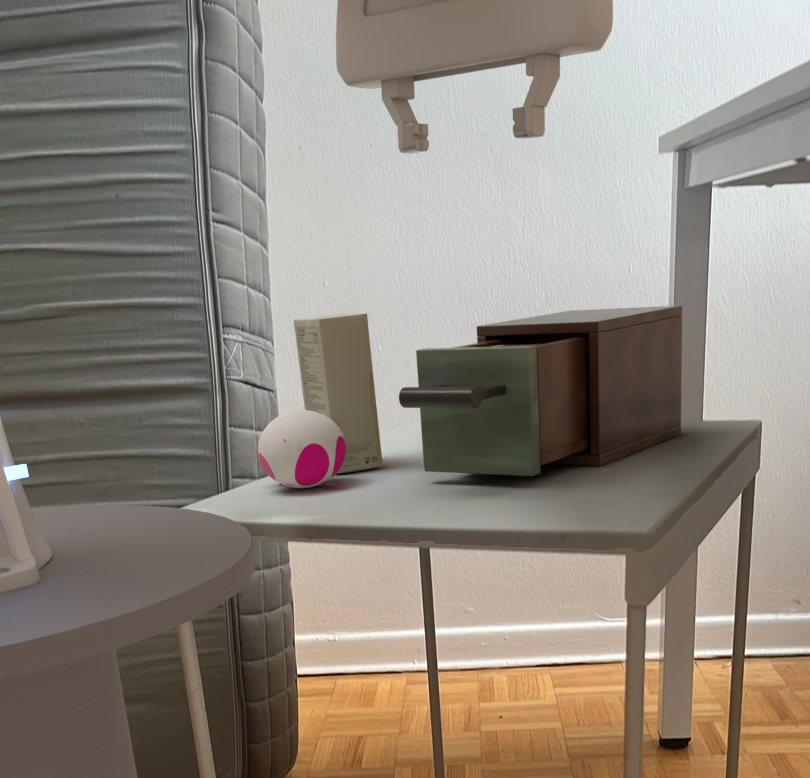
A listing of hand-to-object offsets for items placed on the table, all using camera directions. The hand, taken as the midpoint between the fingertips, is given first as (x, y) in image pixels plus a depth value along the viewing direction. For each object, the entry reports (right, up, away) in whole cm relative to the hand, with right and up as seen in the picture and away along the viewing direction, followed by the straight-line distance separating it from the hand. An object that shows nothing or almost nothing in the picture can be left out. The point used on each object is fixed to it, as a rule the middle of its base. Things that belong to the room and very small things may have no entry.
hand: (469, 145), depth 81 cm
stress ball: (-12, -22, +10) cm, 27 cm away
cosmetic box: (-10, -19, +17) cm, 27 cm away
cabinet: (+11, -17, +18) cm, 27 cm away
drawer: (+4, -20, +8) cm, 22 cm away
